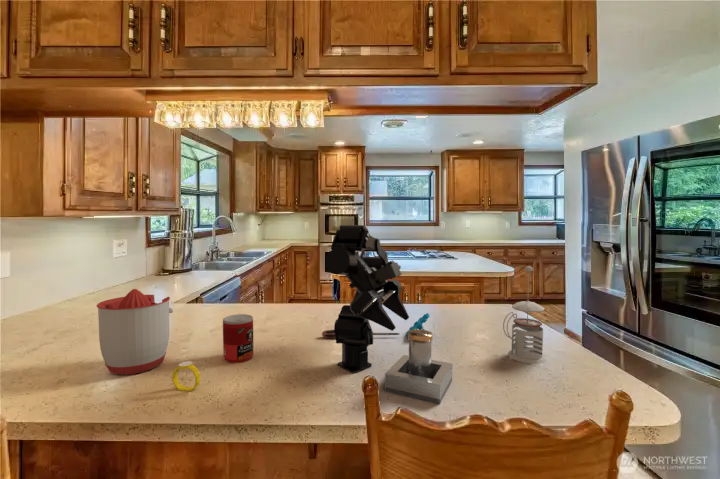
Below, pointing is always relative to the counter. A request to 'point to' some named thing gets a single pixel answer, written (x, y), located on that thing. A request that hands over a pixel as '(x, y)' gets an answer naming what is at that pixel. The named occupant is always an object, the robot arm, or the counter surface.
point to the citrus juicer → (133, 332)
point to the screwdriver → (332, 335)
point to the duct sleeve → (420, 352)
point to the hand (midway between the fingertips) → (401, 323)
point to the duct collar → (419, 381)
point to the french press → (526, 333)
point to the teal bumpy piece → (419, 323)
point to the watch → (185, 366)
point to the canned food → (238, 338)
